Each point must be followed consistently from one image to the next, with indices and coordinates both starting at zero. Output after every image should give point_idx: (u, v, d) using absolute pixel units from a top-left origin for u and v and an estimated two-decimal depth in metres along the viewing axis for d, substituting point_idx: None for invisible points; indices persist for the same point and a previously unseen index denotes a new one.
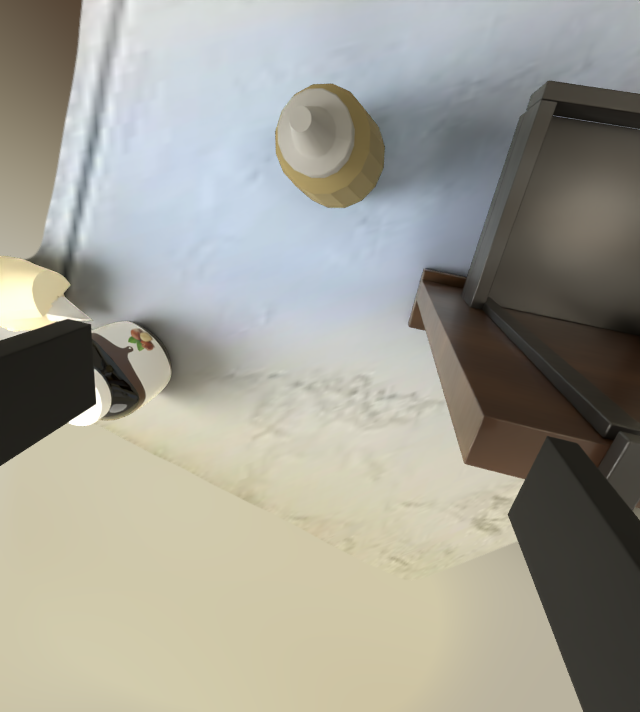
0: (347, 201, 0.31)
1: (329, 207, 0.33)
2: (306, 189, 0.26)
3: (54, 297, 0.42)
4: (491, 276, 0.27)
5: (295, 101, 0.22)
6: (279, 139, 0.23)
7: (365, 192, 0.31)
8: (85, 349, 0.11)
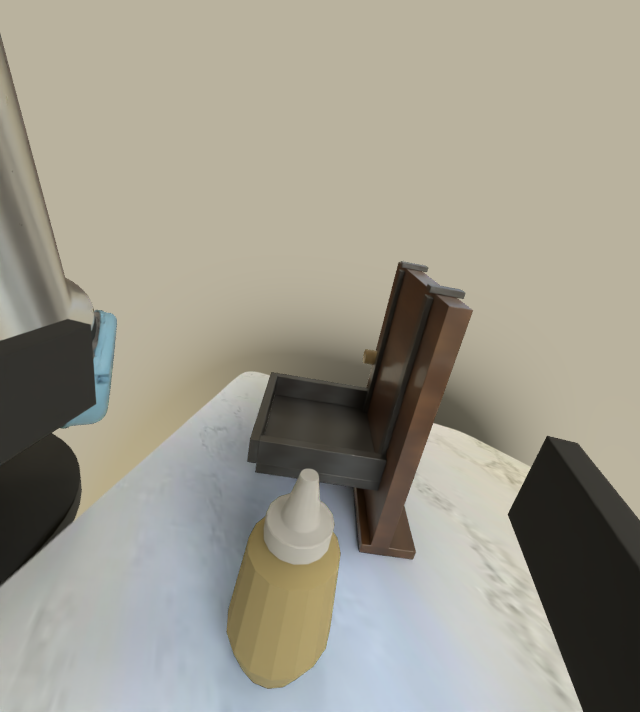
0: None
1: (330, 623, 0.29)
2: (338, 557, 0.25)
3: None
4: (363, 452, 0.39)
5: (276, 531, 0.23)
6: (308, 546, 0.23)
7: None
8: (85, 349, 0.11)
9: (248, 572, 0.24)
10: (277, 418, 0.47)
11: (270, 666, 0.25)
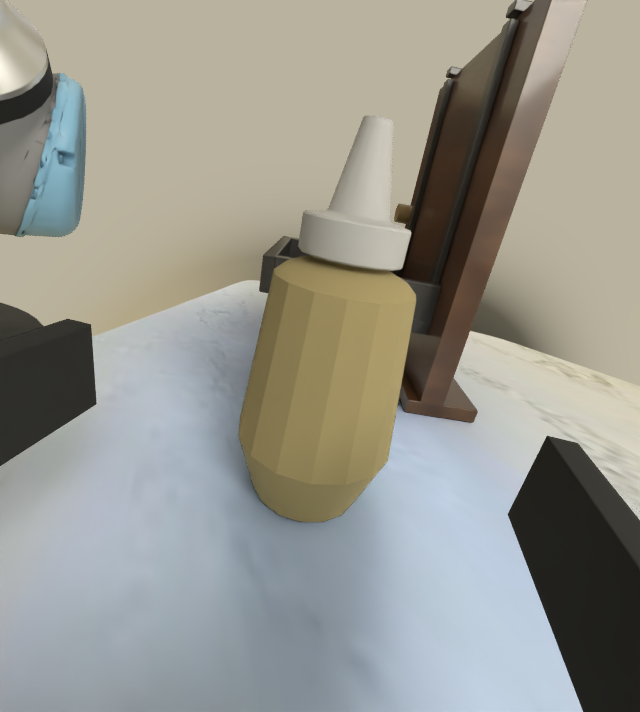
0: None
1: None
2: (414, 294, 0.16)
3: None
4: (409, 279, 0.30)
5: (324, 214, 0.14)
6: (379, 226, 0.14)
7: None
8: (85, 348, 0.11)
9: (276, 302, 0.15)
10: None
11: (310, 458, 0.16)
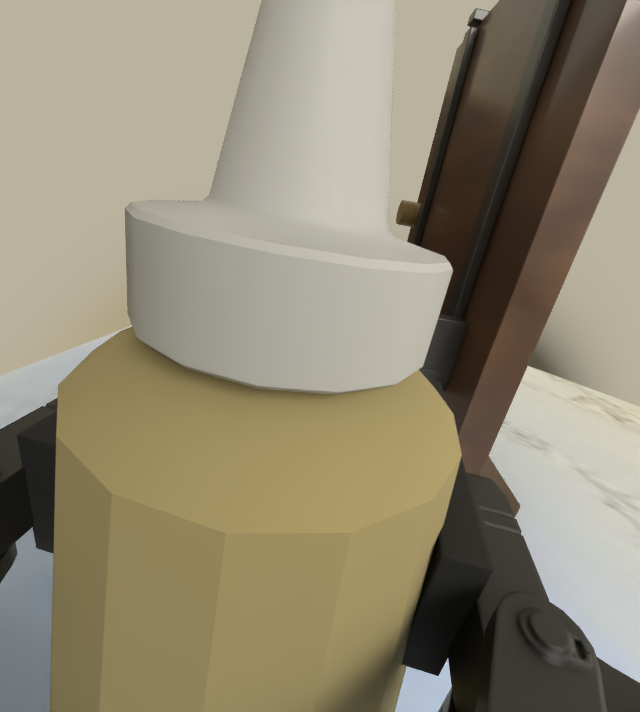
0: None
1: None
2: (452, 421, 0.06)
3: None
4: None
5: (166, 209, 0.04)
6: (347, 254, 0.04)
7: None
8: None
9: None
10: None
11: None
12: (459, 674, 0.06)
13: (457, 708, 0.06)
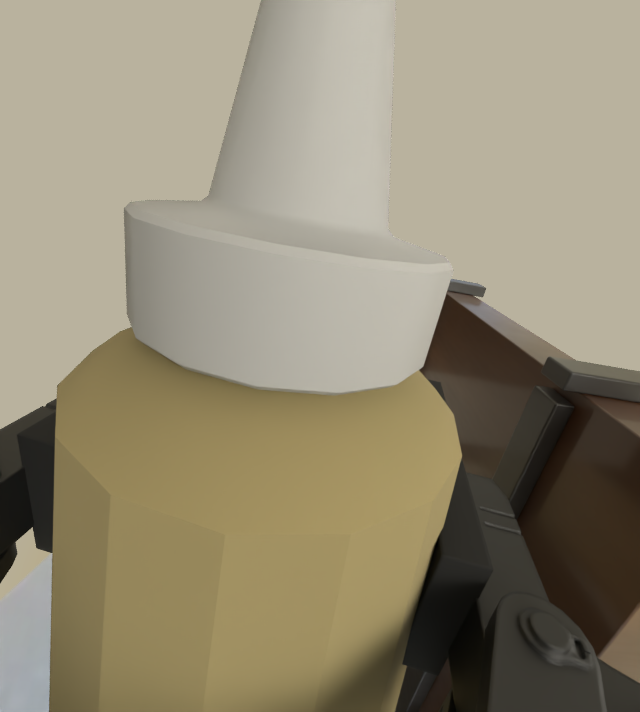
0: None
1: None
2: (452, 422, 0.06)
3: None
4: None
5: (165, 209, 0.04)
6: (347, 254, 0.04)
7: None
8: None
9: None
10: None
11: None
12: (459, 674, 0.06)
13: (457, 708, 0.06)
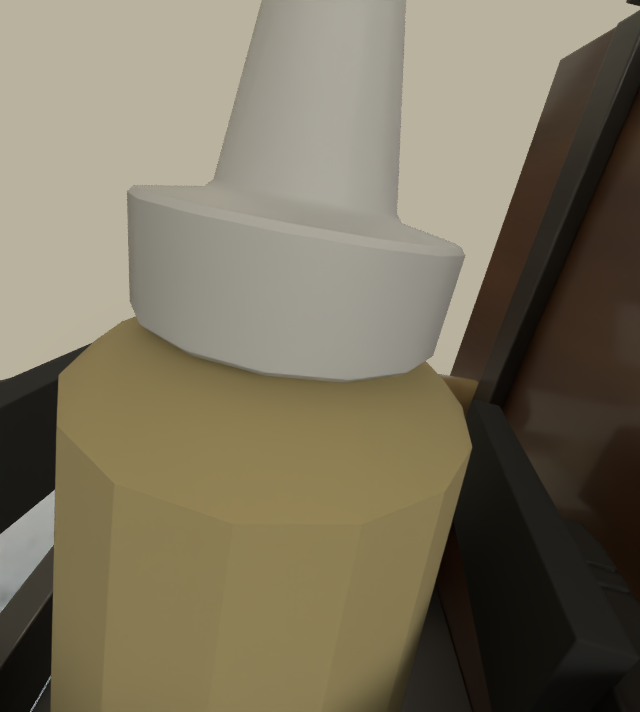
0: None
1: None
2: (461, 414, 0.06)
3: None
4: None
5: (169, 191, 0.04)
6: (359, 235, 0.04)
7: None
8: None
9: None
10: None
11: None
12: None
13: None
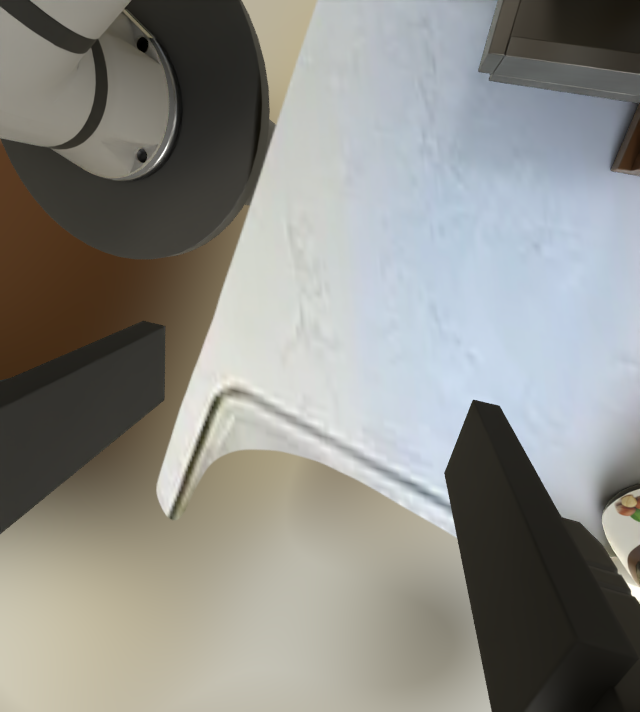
0: None
1: None
2: None
3: None
4: None
5: None
6: None
7: None
8: (160, 348, 0.12)
9: None
10: None
11: None
12: None
13: None
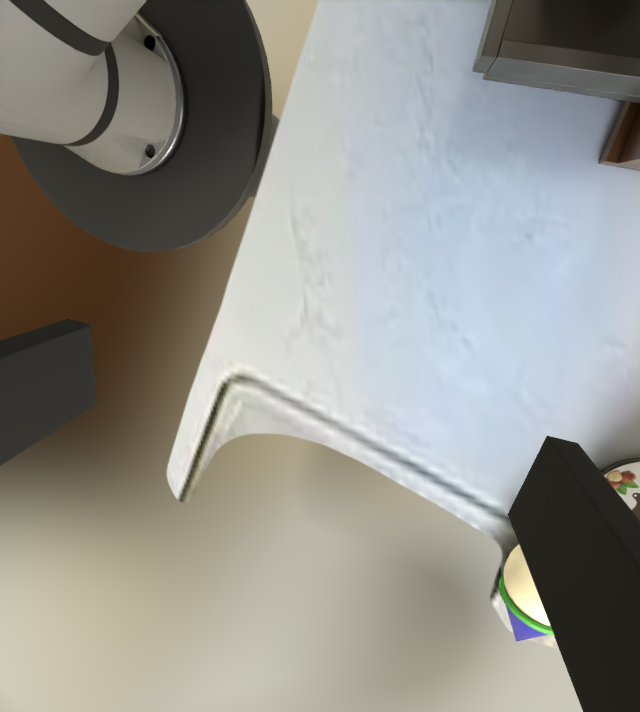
0: None
1: None
2: None
3: None
4: None
5: None
6: None
7: None
8: (85, 349, 0.11)
9: None
10: None
11: None
12: None
13: None
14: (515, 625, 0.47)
